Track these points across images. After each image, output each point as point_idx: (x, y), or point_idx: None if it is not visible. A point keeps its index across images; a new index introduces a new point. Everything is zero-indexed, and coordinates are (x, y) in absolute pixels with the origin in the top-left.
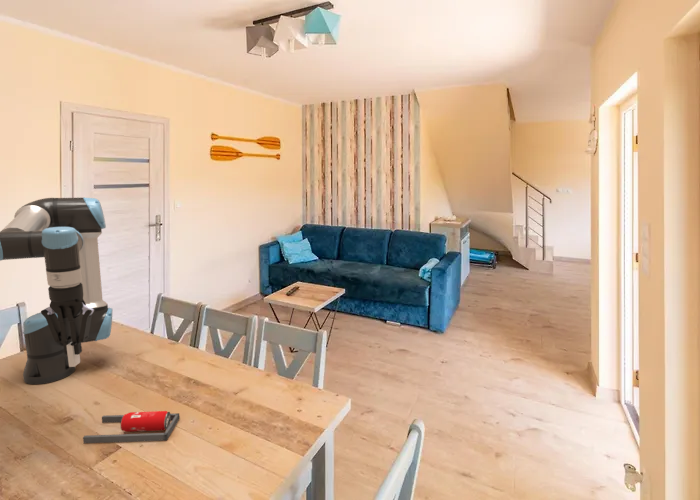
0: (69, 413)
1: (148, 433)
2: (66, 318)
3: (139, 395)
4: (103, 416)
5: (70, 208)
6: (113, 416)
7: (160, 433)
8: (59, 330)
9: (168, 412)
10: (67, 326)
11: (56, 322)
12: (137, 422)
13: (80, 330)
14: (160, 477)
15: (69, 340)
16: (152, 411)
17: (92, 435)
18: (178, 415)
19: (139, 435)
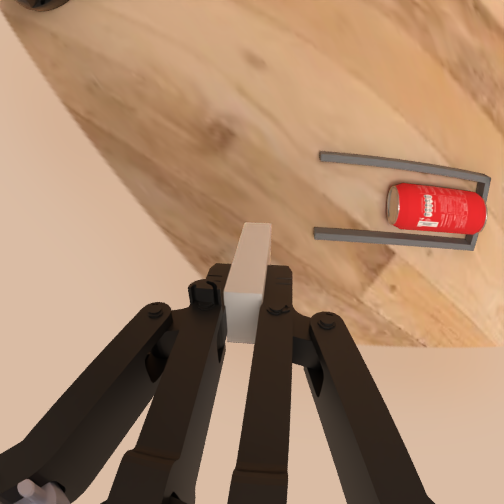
0: (208, 108)
1: (444, 242)
2: (186, 493)
3: (360, 35)
4: (324, 158)
5: None
6: (350, 161)
7: (464, 245)
8: (140, 378)
9: (484, 206)
10: (201, 426)
11: (102, 429)
12: (428, 230)
13: (325, 430)
14: (458, 323)
15: (222, 328)
16: (458, 207)
17: (332, 234)
18: (489, 182)
19: (429, 246)
